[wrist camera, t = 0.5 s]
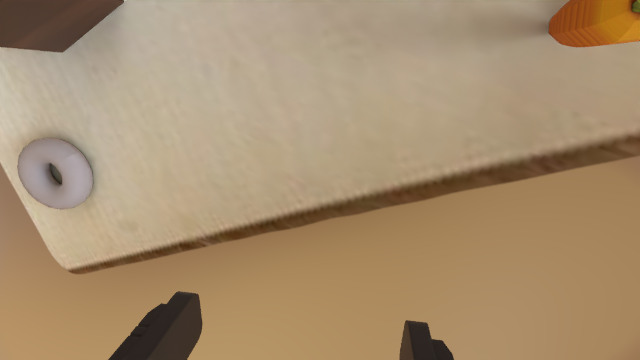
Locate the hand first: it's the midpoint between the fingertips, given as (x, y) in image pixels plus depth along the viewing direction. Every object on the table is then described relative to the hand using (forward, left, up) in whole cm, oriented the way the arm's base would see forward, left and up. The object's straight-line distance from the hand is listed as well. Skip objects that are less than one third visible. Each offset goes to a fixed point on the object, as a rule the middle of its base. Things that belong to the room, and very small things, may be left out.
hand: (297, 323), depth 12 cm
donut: (+6, -39, -28) cm, 49 cm away
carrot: (-15, +19, -28) cm, 37 cm away
